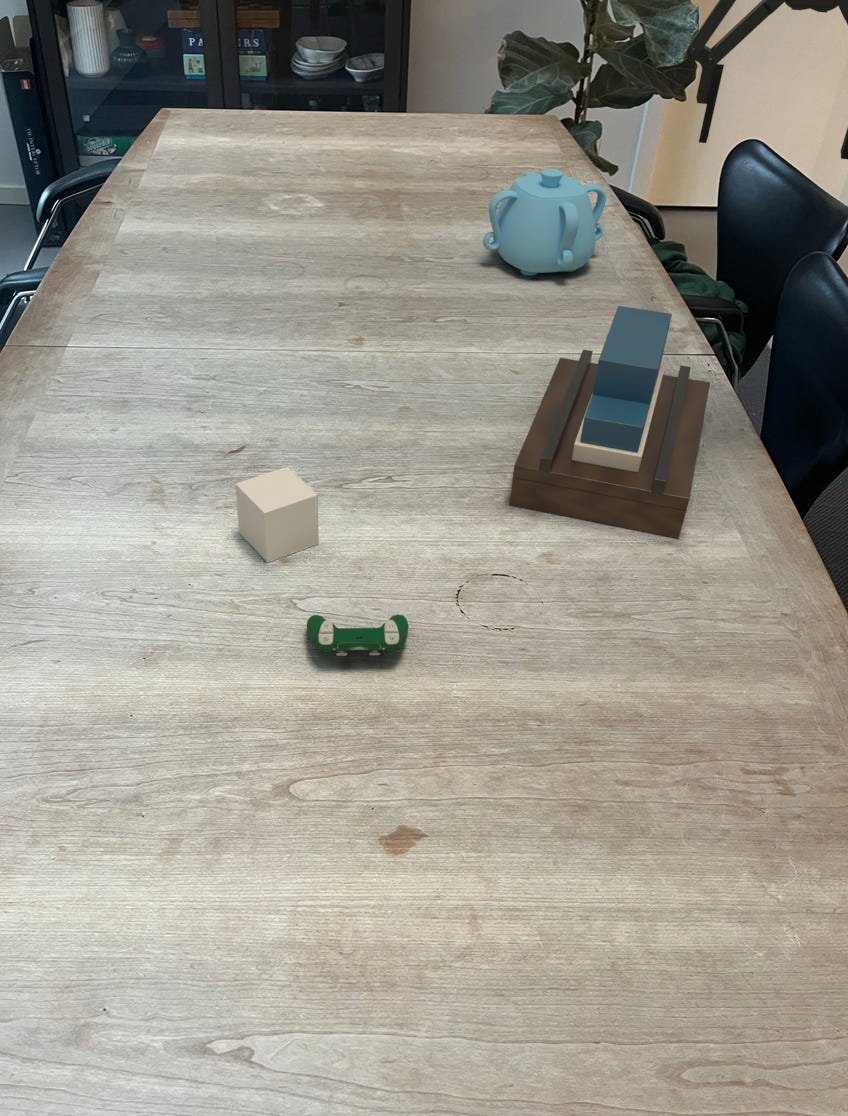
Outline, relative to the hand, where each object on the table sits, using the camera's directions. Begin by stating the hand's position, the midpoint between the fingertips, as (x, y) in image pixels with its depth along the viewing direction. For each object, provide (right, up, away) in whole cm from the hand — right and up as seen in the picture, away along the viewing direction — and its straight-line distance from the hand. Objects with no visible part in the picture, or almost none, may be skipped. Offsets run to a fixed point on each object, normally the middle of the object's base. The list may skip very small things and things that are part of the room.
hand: (772, 147), depth 103 cm
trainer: (-13, -25, +12) cm, 30 cm away
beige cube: (-50, -39, +3) cm, 63 cm away
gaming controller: (-41, -50, -9) cm, 66 cm away
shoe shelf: (-13, -29, +15) cm, 35 cm away
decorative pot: (-14, +10, +58) cm, 60 cm away
